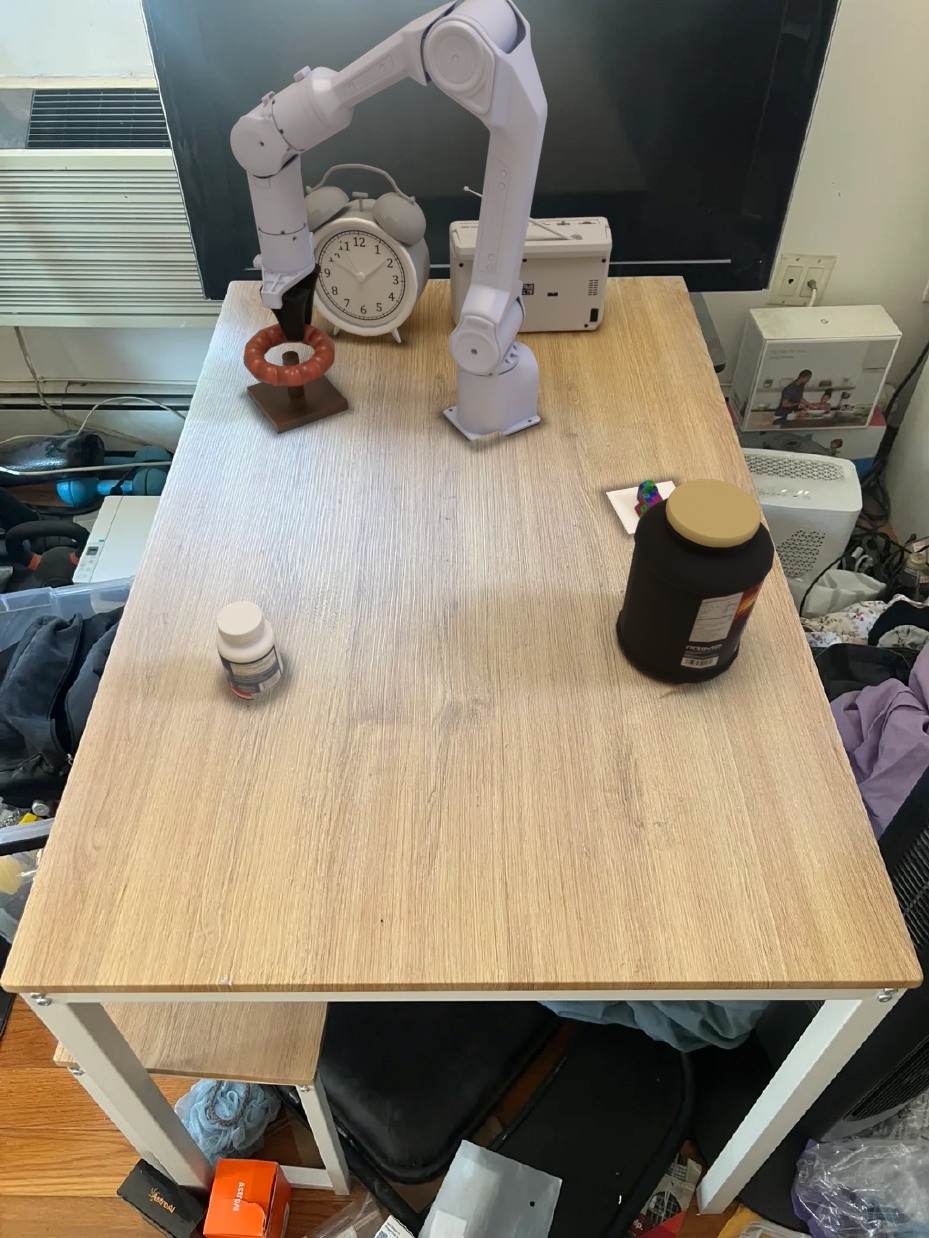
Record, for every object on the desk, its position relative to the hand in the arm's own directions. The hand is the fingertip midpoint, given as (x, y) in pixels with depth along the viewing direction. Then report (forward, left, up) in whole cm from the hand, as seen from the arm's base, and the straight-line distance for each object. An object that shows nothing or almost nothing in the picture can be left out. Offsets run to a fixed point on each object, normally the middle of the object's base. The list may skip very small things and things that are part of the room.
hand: (298, 332), depth 112 cm
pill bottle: (+25, +41, -8) cm, 49 cm away
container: (-11, +59, -8) cm, 61 cm away
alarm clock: (-13, -7, -8) cm, 17 cm away
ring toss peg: (+3, +3, -7) cm, 8 cm away
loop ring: (+3, +3, 0) cm, 4 cm away
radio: (-32, +3, -8) cm, 33 cm away
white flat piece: (-22, +42, -8) cm, 48 cm away
